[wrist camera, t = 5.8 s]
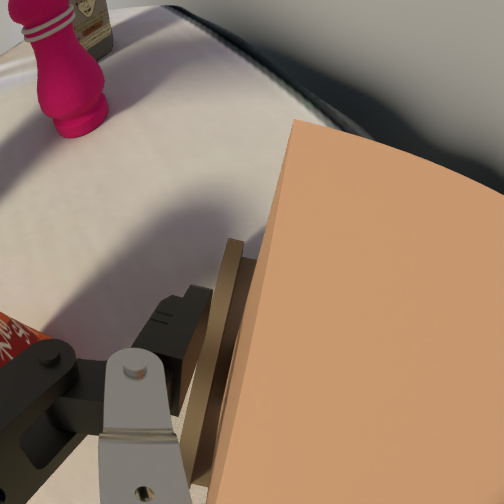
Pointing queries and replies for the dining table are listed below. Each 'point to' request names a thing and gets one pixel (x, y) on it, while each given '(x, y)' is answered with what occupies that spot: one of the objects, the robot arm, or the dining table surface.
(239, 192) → the dining table surface
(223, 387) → the walnut rack
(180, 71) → the dining table surface
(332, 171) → the terracotta block
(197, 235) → the dining table surface
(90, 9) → the liquor
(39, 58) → the pepper mill
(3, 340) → the paper cup
